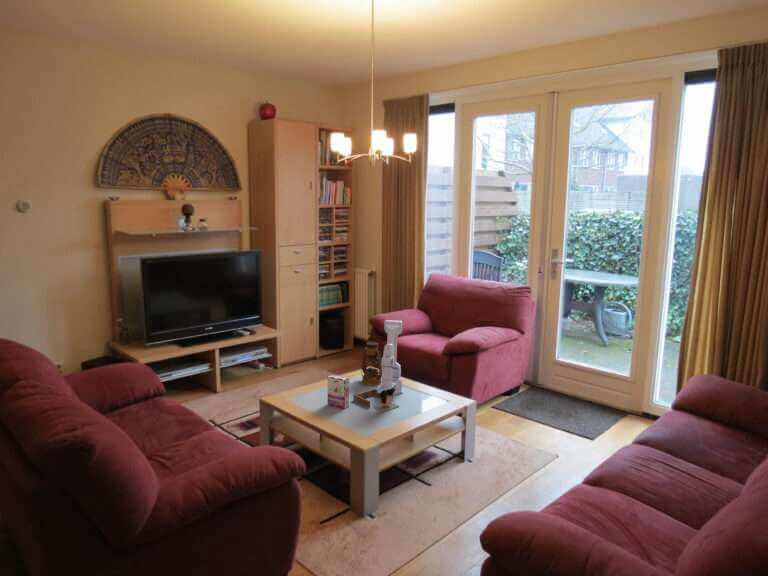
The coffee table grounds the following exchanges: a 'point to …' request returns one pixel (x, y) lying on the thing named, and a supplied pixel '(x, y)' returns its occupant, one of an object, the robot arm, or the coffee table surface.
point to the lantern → (371, 373)
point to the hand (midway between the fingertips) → (386, 402)
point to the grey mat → (384, 408)
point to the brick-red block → (387, 401)
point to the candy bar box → (338, 391)
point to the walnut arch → (360, 397)
